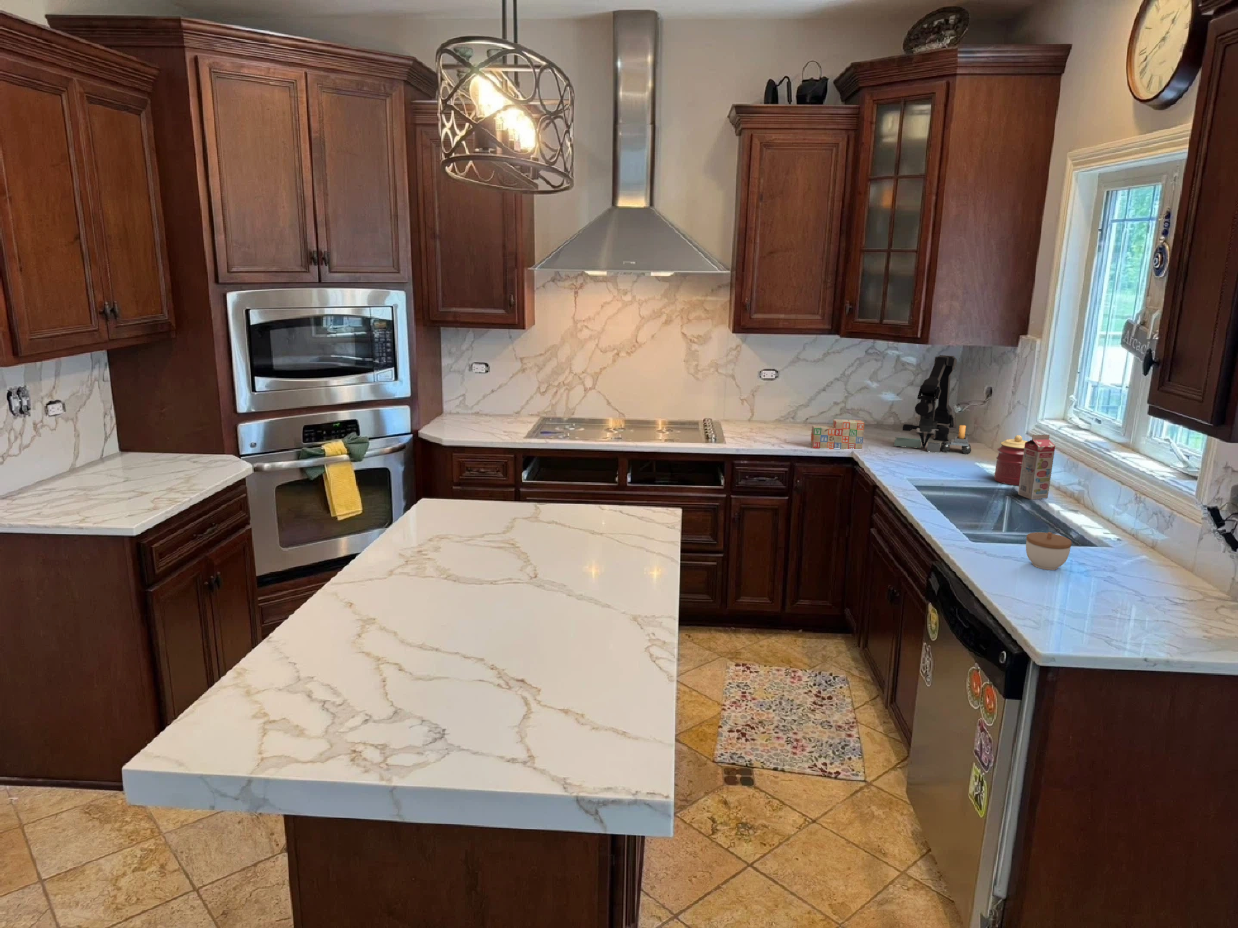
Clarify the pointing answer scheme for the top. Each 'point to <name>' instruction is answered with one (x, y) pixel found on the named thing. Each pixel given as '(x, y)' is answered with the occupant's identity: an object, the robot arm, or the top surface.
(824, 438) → the stack of blocks
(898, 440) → the tray
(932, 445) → the block
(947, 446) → the grey toy car
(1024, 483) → the juice carton
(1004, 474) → the canister
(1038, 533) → the lidded jar
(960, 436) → the pin
